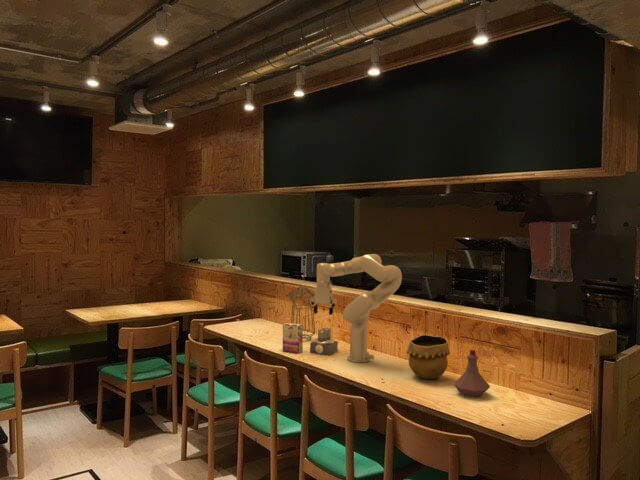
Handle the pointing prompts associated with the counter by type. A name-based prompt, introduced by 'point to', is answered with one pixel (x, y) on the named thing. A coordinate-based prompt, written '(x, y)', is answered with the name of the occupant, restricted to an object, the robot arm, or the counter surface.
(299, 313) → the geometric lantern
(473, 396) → the flask
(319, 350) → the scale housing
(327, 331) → the disc
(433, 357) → the clay pot
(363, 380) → the counter surface
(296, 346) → the candy bar box
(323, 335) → the cylinder
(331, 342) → the pan
